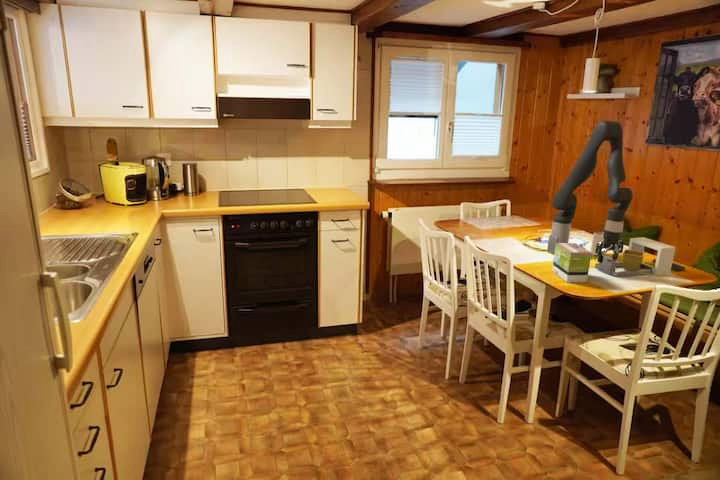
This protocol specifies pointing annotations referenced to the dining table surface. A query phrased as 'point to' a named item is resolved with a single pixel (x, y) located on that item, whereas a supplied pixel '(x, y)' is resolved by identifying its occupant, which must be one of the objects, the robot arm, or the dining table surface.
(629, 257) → the flower pot
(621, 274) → the sled
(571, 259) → the tea box
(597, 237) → the can
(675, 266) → the pit tray
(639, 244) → the tunnel
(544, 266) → the dining table surface
